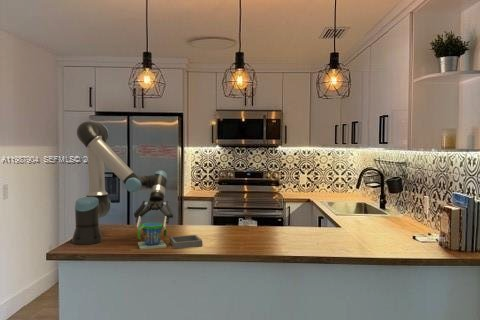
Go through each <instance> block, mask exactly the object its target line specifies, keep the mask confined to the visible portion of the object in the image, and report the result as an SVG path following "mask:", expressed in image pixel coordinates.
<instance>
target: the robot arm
mask: <svg viewBox="0 0 480 320" xmlns="http://www.w3.org/2000/svg"><path fill="white" fill-rule="evenodd" d="M76 136H77V139H79V141H80V142H81V143H82V144H83V145H84V148H85V149H87V168H88V171H87V173H88V193H86V196H85V197H80V198H77V199H76V200H75V203H74V204H75V205H74V213H75V216H74V217H75V230H74V231H73V236H72V239H71V240H72V241H71V242H72V244H74V245H79V246H80V245H81V246H82V245H84V246H85V245H94V244H98V243H101V242H102V241H103V234H102V232H101V229H100V225H99V219H101V218H103V217H105V216H106V215H107V214H109V213H110V211H111V209H112V202H111V199H109V193H108V192H107V191H106V182H105V181H106V180H105V178H106V177H105V165H106V166H107V168H109V170H111V171H112V173H113V174H114V175H115V176H116V177H118V179H120V181H121V182H122V183H123V185H124V186H125V189H126V190H127V191H128V192H129V193H130V192H131V193H137V192H139V191H142V190H149V189H150V194H149V195H150V196H149V200H148V202H147V201H145V200H143V201H142V203H141V205H140V206H139V207H138V208H137V209H136V210H135V212H134V213H133V216H134V218H135V222H136V228H137V230H139V228H140V227H141V222H142V217H143V216H145V215H146V214H147V213H149V212H150V211H159V210H160V212H161V213H162V214H163V216H164V220H163V225H164V226H163V227H162V228H163V231H164V230H167V224H169V223H170V219H173V218H174V215H173V212H172V210H171V207H170V204H169V201H168V200H166V201H165V202H164V200H165V195H166V187H167V184H168V183H167V182H168V174H167V172H165V171H164V170H156V171H155V172H154V174H152V175H151V174H150V175H137V174H135V172H134V171H133V170H132V169H131V168H130V167H129V166H128V165H127V164H126V163H125V162H124V160H122V159H121V158H120V156H118V155H117V154H116V152H114V151H113V149H112V148H111V147H110V146H109V145H108V144H107V140H108V138H109V129H108V128H107V127H106V126H105V125H104V123H101V122H94V121H83V122H82V123H80V124H78V127H77V130H76ZM164 207H166V209H167V211H166V210H165V208H164Z"/></svg>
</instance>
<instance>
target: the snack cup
mask: <svg viewBox="0 0 480 320" xmlns="http://www.w3.org/2000/svg"><path fill="white" fill-rule="evenodd" d="M163 226H164V223H161V222H146V223H142V224H141V225H140V228H139V230H138V229H137V230H138V231H137V235H136V236H137V239H138V240H141V231H142V233H143V239H144V241H143V242H145V244H146V245H156V244H159V243H160V240H161V235H162V229H163V228H164V227H163ZM167 231H168V230H167V229H166V230H164V229H163V236H164V237H166V236H167V233H168V232H167Z"/></svg>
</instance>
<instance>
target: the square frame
mask: <svg viewBox="0 0 480 320" xmlns="http://www.w3.org/2000/svg"><path fill="white" fill-rule="evenodd" d="M169 243H170V245H171V246H172V248H173V249H175V250H177V249H189V248H199V247H203V240H202V239H201V238H200V237H199V236H198V235H197V234H192V235H191V234H188V235H177V236H169Z"/></svg>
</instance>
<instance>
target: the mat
mask: <svg viewBox="0 0 480 320" xmlns="http://www.w3.org/2000/svg"><path fill="white" fill-rule="evenodd" d="M137 245H138V247H139V248H138V249H139V250H140V251H143V250H153V249H154V250H155V249H167V244H166V243H165V241H164V239H160V243H159V244H156V245H146V244H145V241H137Z"/></svg>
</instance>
